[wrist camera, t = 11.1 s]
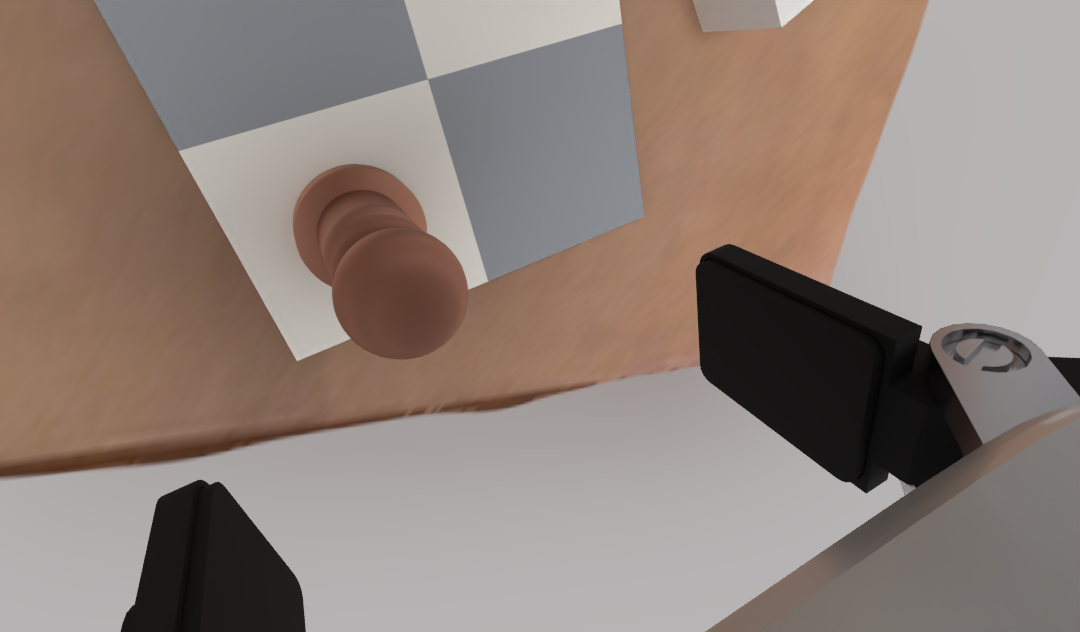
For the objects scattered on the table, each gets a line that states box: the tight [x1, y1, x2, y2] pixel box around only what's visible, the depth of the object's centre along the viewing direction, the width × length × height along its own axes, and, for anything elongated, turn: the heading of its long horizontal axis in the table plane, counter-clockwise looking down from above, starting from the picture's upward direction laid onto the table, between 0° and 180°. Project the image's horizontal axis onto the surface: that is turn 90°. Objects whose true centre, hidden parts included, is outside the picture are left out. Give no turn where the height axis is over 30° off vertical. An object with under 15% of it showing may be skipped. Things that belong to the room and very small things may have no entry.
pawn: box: [293, 164, 468, 359], centre depth 19 cm, size 5×5×10 cm
